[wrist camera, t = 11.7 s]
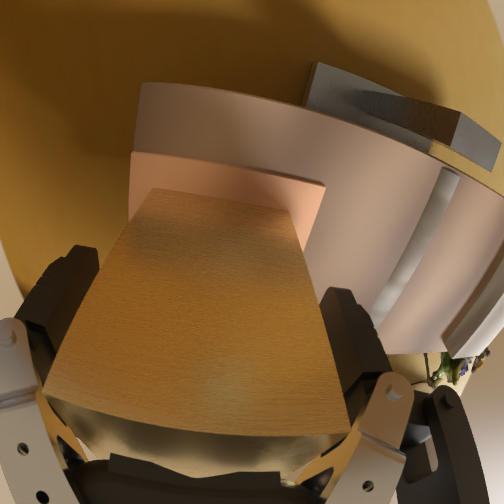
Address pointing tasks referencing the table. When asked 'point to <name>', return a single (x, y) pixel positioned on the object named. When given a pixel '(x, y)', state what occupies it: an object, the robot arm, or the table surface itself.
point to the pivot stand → (397, 115)
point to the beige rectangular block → (202, 344)
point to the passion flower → (453, 367)
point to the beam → (340, 207)
